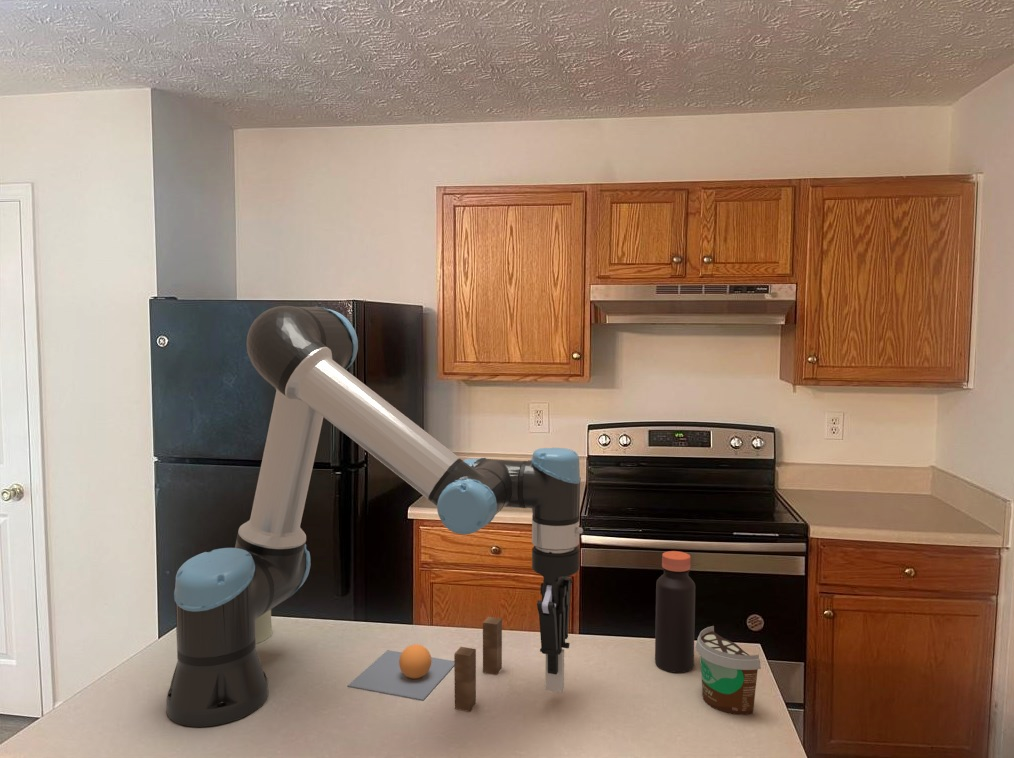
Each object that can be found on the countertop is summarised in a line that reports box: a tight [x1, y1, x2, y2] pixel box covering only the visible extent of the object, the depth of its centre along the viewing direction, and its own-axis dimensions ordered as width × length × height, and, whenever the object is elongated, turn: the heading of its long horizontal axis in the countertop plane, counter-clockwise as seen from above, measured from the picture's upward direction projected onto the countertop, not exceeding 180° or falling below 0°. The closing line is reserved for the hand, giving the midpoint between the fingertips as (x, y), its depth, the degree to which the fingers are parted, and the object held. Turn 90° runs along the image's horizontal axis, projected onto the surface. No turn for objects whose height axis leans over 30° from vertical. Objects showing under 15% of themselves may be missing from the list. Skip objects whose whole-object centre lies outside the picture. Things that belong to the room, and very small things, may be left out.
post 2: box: [482, 616, 503, 676], centre depth 126 cm, size 3×3×9 cm
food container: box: [695, 625, 762, 716], centre depth 115 cm, size 12×6×10 cm, turn 21°
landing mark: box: [347, 649, 454, 702], centre depth 125 cm, size 14×14×1 cm
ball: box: [399, 643, 432, 679], centre depth 124 cm, size 6×6×6 cm
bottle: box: [654, 550, 696, 674], centre depth 128 cm, size 7×7×20 cm
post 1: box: [453, 646, 477, 713], centre depth 114 cm, size 3×3×9 cm
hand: (554, 689), depth 116 cm, fingers closed
